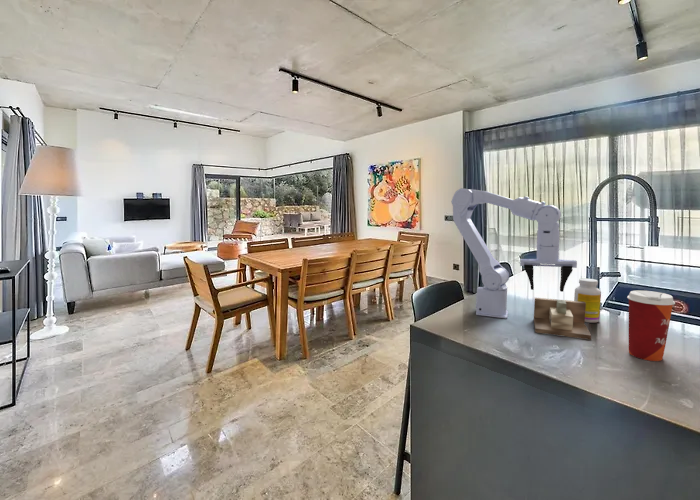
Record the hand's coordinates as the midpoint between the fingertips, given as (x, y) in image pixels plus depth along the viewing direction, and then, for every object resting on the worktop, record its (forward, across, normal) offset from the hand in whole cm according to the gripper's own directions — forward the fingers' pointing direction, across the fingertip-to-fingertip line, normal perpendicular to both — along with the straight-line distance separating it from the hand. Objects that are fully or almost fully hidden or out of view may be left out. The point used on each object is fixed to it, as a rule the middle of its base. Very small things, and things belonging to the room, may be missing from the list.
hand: (546, 289), depth 99 cm
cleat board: (+10, +3, -4) cm, 12 cm away
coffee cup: (+11, +19, -16) cm, 27 cm away
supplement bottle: (+11, +11, +8) cm, 18 cm away
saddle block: (+9, +3, -4) cm, 11 cm away
